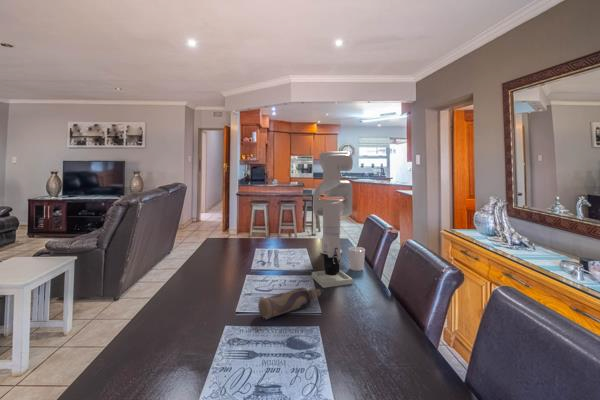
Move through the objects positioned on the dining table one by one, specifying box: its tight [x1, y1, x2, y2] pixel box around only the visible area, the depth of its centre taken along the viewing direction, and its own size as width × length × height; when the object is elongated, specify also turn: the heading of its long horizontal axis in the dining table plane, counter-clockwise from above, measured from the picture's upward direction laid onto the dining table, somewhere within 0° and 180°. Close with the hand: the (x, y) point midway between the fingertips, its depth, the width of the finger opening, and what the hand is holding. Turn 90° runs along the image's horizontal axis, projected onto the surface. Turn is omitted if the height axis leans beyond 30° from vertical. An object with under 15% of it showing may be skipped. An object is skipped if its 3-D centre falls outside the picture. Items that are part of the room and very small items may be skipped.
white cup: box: [348, 246, 366, 272], centre depth 144 cm, size 8×8×10 cm
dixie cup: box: [322, 251, 338, 278], centre depth 129 cm, size 8×8×11 cm
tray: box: [311, 269, 354, 289], centre depth 130 cm, size 14×14×2 cm
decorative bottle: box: [257, 287, 324, 320], centre depth 103 cm, size 26×8×7 cm, turn 126°
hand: (331, 268), depth 130 cm, fingers closed on dixie cup, 8 cm apart
